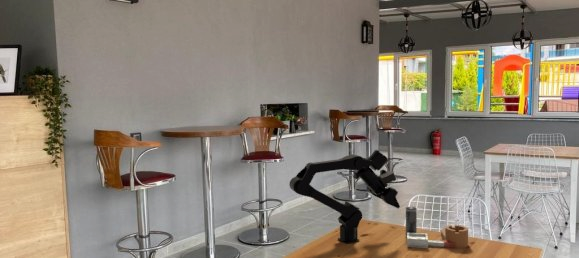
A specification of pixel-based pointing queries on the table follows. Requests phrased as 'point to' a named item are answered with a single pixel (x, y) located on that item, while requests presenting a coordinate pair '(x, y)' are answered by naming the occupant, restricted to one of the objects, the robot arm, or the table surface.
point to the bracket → (456, 235)
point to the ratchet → (426, 241)
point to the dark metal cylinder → (411, 220)
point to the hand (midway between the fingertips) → (394, 204)
